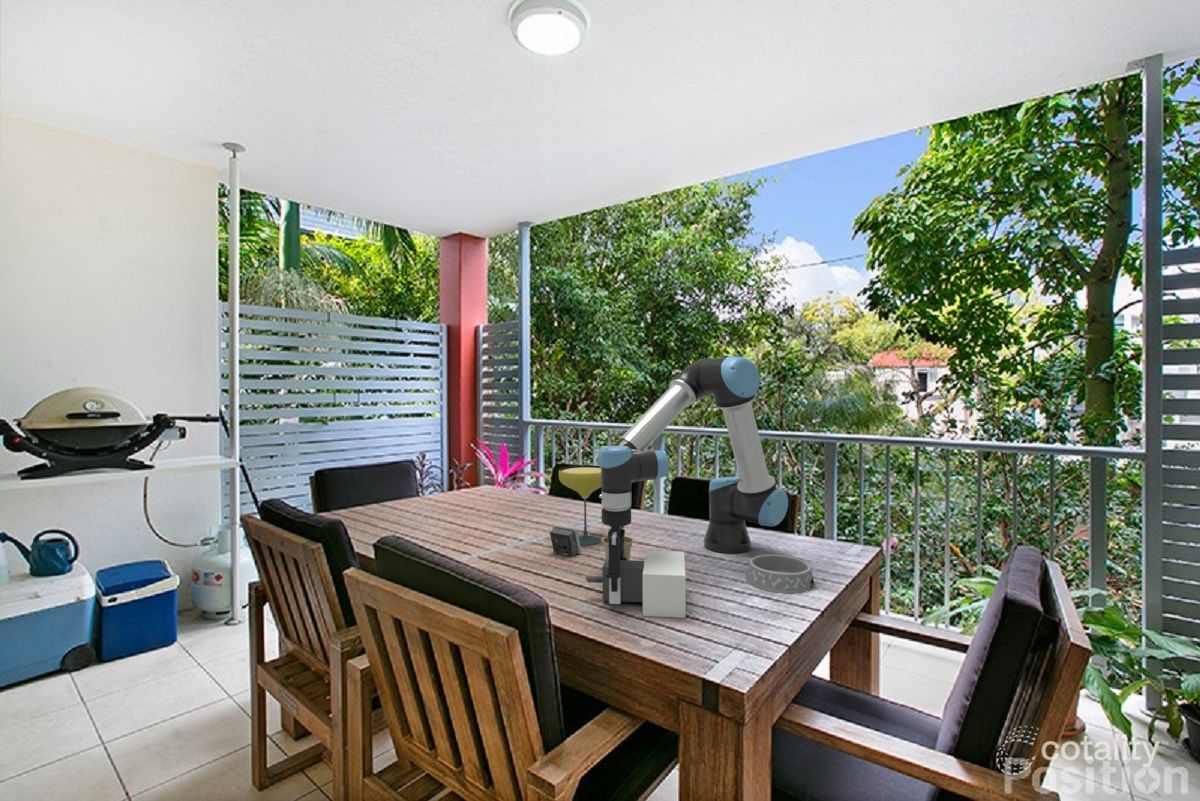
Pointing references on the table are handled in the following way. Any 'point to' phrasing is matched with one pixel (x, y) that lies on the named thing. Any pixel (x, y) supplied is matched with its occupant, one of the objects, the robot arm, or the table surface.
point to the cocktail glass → (582, 489)
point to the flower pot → (627, 546)
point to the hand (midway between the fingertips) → (617, 595)
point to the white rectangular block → (664, 584)
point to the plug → (623, 580)
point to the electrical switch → (565, 540)
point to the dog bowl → (779, 574)
